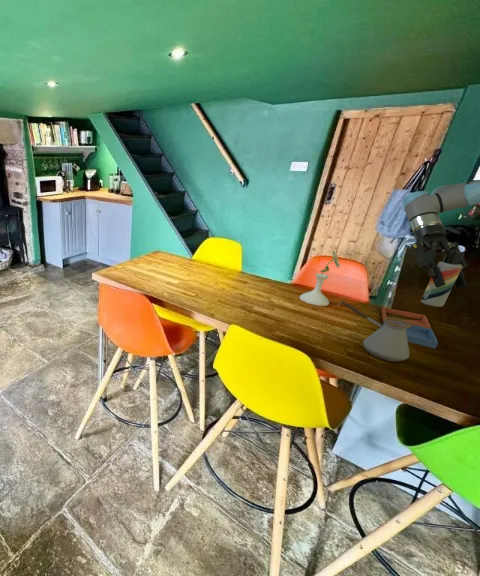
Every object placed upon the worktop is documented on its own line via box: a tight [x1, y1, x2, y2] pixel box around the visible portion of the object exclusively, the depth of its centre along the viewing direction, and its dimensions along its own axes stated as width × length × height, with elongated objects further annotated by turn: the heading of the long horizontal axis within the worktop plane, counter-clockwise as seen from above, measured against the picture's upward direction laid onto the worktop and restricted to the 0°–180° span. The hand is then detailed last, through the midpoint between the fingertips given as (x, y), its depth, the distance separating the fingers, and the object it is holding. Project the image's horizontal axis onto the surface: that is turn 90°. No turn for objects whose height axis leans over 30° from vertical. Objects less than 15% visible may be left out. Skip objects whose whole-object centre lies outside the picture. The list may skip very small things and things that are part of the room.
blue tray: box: [382, 321, 439, 350], centre depth 111 cm, size 13×12×2 cm
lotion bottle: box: [420, 250, 465, 308], centre depth 105 cm, size 6×6×20 cm
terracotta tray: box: [380, 306, 432, 329], centre depth 121 cm, size 13×12×2 cm
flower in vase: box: [299, 250, 341, 307], centre depth 135 cm, size 13×11×25 cm
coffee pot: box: [337, 300, 411, 362], centre depth 100 cm, size 21×12×15 cm, turn 44°
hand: (451, 286), depth 102 cm, fingers closed on lotion bottle, 6 cm apart
